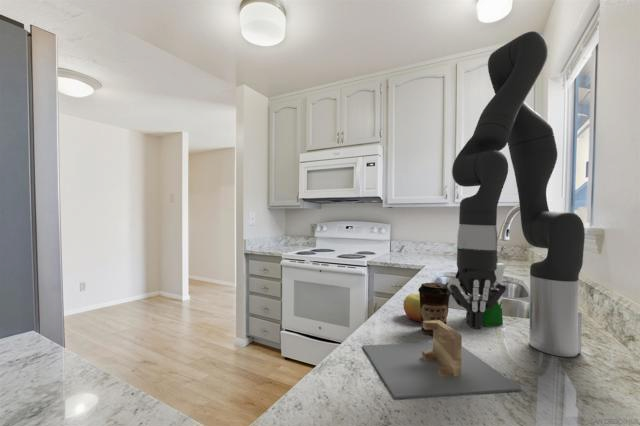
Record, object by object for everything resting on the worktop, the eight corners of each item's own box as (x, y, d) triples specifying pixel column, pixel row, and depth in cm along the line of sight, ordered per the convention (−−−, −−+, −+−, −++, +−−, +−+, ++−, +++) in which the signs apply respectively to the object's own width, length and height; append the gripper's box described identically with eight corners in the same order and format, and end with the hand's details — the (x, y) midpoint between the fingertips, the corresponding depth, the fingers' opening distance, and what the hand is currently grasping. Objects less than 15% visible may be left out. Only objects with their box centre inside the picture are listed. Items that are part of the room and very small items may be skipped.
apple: (440, 318, 91) (440, 292, 92) (433, 328, 83) (434, 299, 83) (408, 312, 97) (408, 287, 97) (399, 321, 88) (399, 294, 89)
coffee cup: (454, 340, 75) (455, 289, 75) (420, 337, 76) (420, 287, 77) (446, 328, 83) (447, 282, 83) (416, 325, 85) (416, 280, 85)
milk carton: (508, 325, 87) (509, 257, 87) (483, 328, 84) (484, 258, 84) (483, 315, 95) (484, 253, 95) (460, 317, 92) (461, 254, 93)
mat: (455, 343, 73) (456, 341, 73) (521, 390, 53) (521, 388, 53) (362, 347, 70) (362, 345, 70) (394, 399, 50) (394, 396, 50)
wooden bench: (439, 356, 65) (439, 320, 65) (461, 376, 57) (461, 334, 57) (422, 357, 65) (422, 320, 65) (441, 377, 57) (442, 335, 57)
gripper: (492, 245, 67) (490, 321, 67) (438, 244, 65) (435, 322, 65) (519, 249, 60) (516, 334, 59) (458, 247, 58) (455, 336, 58)
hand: (474, 328), depth 62 cm, fingers closed
